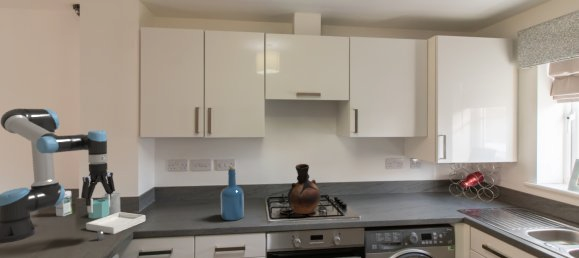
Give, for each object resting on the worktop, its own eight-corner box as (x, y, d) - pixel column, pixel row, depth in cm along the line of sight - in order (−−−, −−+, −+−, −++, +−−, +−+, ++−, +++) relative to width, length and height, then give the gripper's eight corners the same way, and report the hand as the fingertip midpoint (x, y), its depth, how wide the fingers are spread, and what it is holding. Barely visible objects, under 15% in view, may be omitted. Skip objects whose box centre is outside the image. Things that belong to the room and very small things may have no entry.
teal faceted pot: (97, 219, 135) (96, 204, 134) (85, 217, 137) (84, 202, 137) (112, 213, 142) (112, 199, 142) (101, 212, 145) (100, 198, 145)
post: (99, 240, 138) (99, 232, 138) (96, 240, 139) (95, 231, 139) (104, 238, 141) (104, 230, 141) (101, 238, 142) (100, 230, 141)
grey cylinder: (106, 218, 170) (105, 197, 170) (99, 215, 176) (99, 195, 176) (123, 214, 178) (122, 194, 178) (116, 211, 184) (116, 192, 183)
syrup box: (63, 216, 175) (62, 192, 175) (55, 215, 176) (54, 192, 176) (72, 213, 181) (71, 190, 180) (64, 213, 182) (63, 190, 181)
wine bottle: (235, 222, 161) (234, 169, 160) (216, 219, 166) (215, 167, 166) (248, 215, 173) (247, 165, 172) (230, 212, 179) (229, 164, 178)
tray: (113, 234, 147) (113, 227, 146) (86, 229, 153) (85, 223, 153) (145, 220, 165) (145, 215, 165) (119, 217, 172) (119, 211, 172)
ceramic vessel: (314, 207, 188) (314, 161, 187) (326, 215, 171) (325, 165, 170) (283, 210, 181) (283, 163, 180) (292, 219, 164) (292, 167, 163)
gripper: (81, 166, 128) (82, 217, 129) (122, 160, 147) (123, 204, 148) (70, 165, 130) (71, 215, 131) (112, 159, 150) (113, 202, 151)
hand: (99, 209), depth 140 cm, fingers closed on teal faceted pot, 8 cm apart
